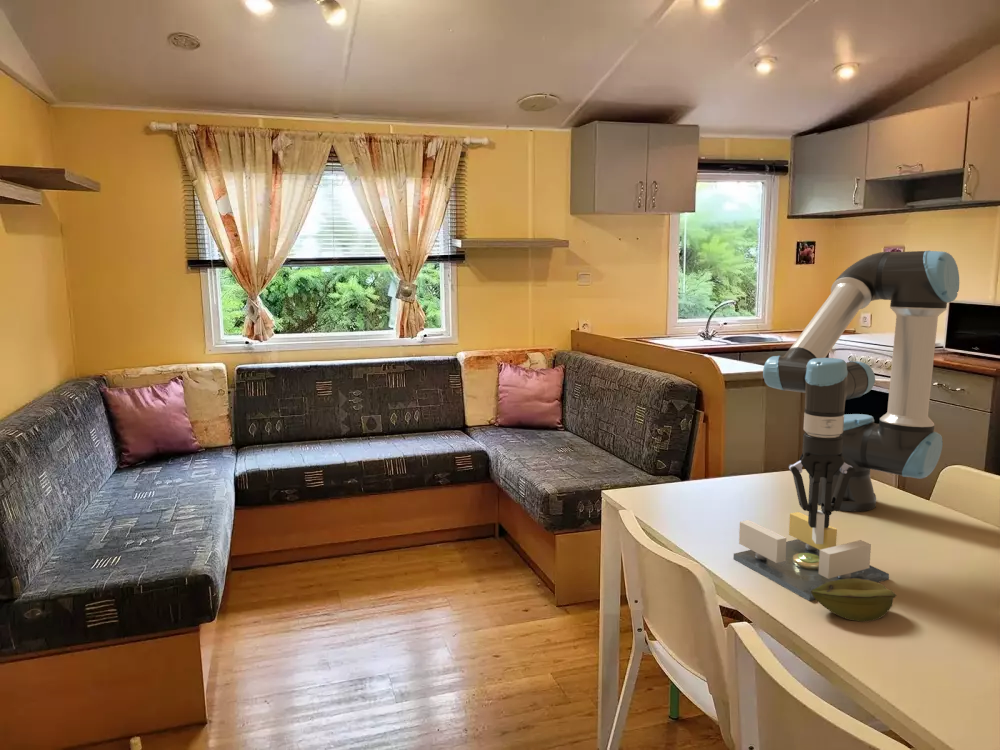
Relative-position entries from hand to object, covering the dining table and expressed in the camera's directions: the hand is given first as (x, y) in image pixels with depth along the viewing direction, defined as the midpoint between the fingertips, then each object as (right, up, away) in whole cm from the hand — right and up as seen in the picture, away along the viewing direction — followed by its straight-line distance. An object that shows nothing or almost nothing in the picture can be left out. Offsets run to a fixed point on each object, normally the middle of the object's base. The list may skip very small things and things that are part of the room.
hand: (817, 541), depth 150 cm
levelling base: (-3, -5, -2) cm, 6 cm away
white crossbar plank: (-12, -3, 0) cm, 12 cm away
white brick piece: (+1, -5, -9) cm, 11 cm away
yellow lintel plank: (+1, -2, +4) cm, 5 cm away
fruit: (-3, -8, -20) cm, 22 cm away
